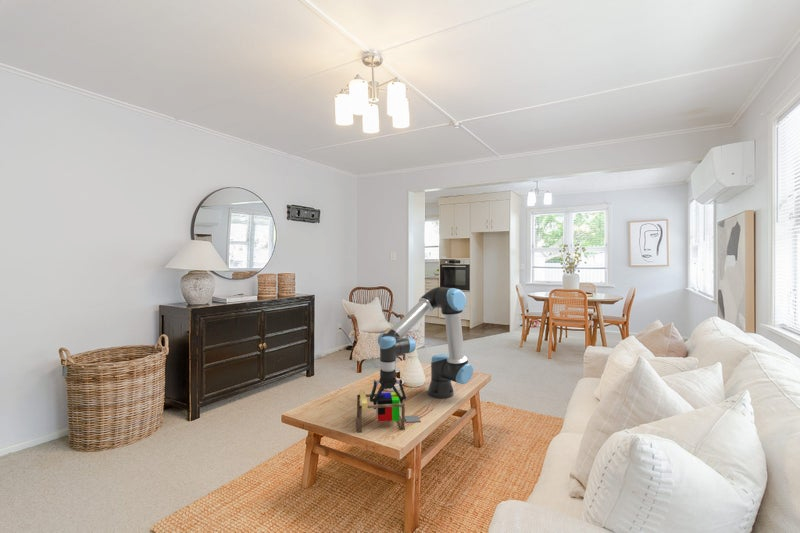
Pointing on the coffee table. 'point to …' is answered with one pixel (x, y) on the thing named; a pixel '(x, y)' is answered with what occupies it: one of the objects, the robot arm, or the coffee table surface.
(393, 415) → the puzzle toy
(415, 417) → the pad
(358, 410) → the rack
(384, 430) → the coffee table surface
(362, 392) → the bar
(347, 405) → the coffee table surface
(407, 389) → the coffee table surface
